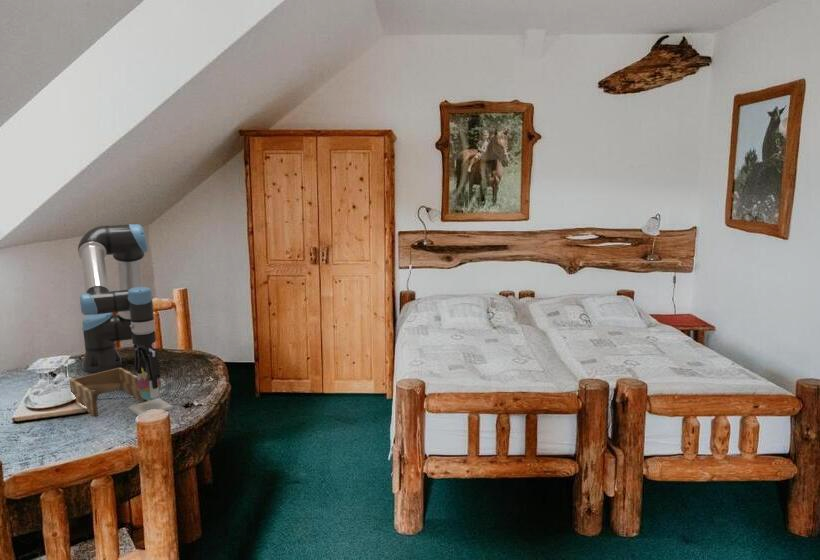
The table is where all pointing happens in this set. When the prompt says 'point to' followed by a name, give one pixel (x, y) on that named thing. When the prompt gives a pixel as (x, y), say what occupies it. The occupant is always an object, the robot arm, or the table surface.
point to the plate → (150, 406)
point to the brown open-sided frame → (103, 386)
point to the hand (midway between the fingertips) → (149, 393)
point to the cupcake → (145, 386)
